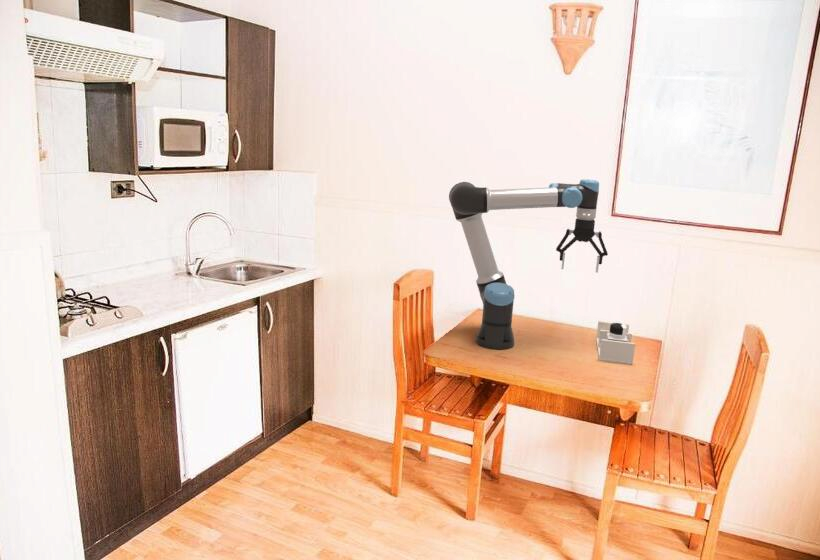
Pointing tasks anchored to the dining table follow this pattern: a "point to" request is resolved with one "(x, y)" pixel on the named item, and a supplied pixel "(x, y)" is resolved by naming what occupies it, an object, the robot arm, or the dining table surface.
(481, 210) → the robot arm
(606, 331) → the rack
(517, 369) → the dining table surface
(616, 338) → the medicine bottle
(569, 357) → the dining table surface
